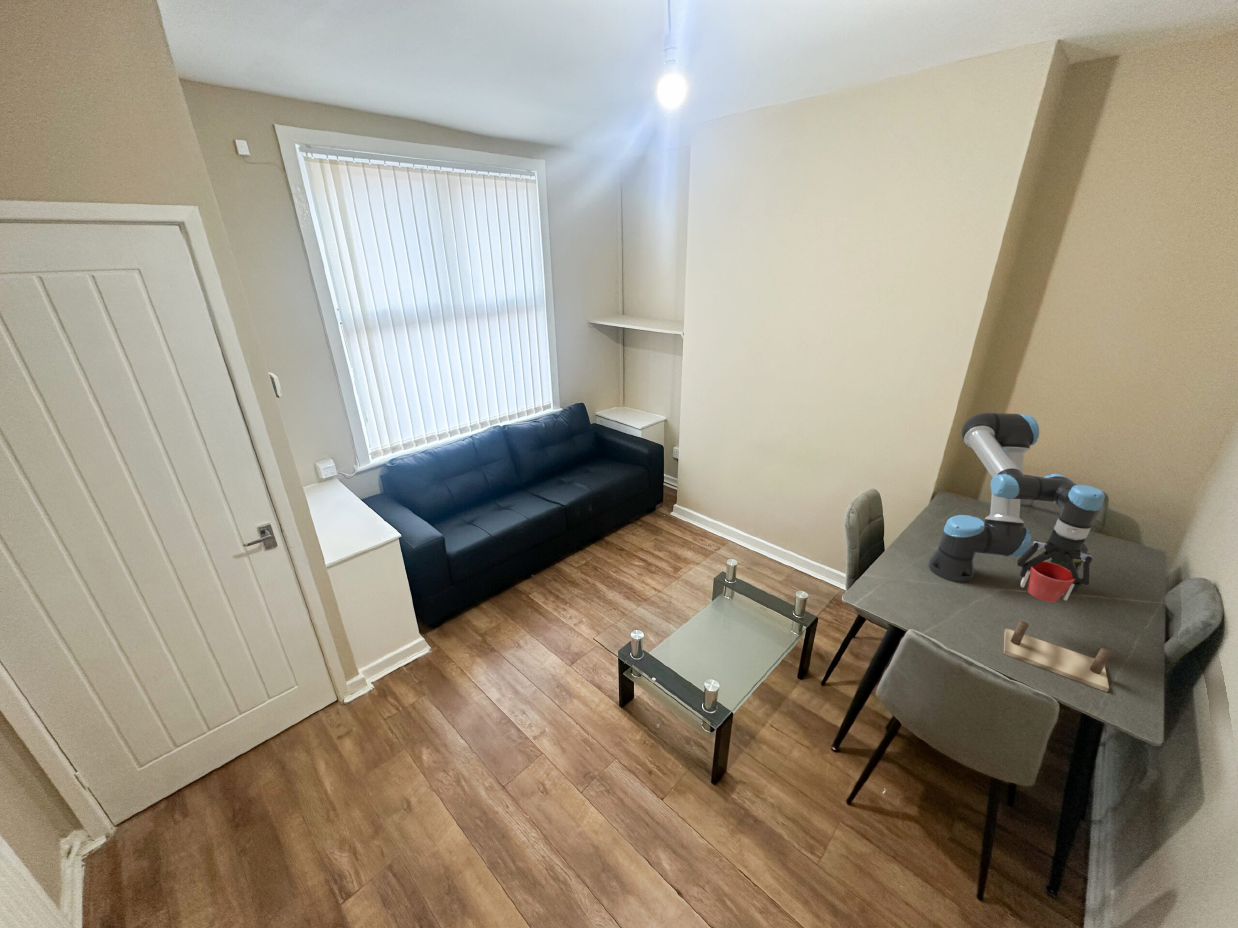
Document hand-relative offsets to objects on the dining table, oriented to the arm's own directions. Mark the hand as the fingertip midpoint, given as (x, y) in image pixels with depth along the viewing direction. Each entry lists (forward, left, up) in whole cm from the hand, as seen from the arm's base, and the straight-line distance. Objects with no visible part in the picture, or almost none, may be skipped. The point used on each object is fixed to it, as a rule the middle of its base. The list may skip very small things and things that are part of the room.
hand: (1043, 591), depth 153 cm
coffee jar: (+9, +35, -16) cm, 39 cm away
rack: (+6, -12, -16) cm, 21 cm away
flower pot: (0, 0, -1) cm, 1 cm away
